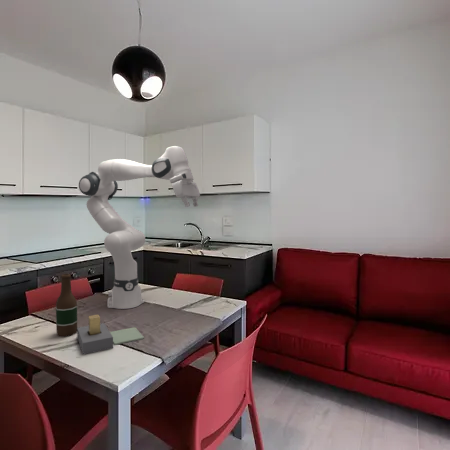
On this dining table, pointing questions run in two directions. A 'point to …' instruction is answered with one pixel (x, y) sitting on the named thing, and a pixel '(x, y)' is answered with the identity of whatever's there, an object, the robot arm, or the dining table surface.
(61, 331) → the beer bottle
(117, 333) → the green mat
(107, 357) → the dining table surface
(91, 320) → the brass peg
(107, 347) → the grey slotted block
